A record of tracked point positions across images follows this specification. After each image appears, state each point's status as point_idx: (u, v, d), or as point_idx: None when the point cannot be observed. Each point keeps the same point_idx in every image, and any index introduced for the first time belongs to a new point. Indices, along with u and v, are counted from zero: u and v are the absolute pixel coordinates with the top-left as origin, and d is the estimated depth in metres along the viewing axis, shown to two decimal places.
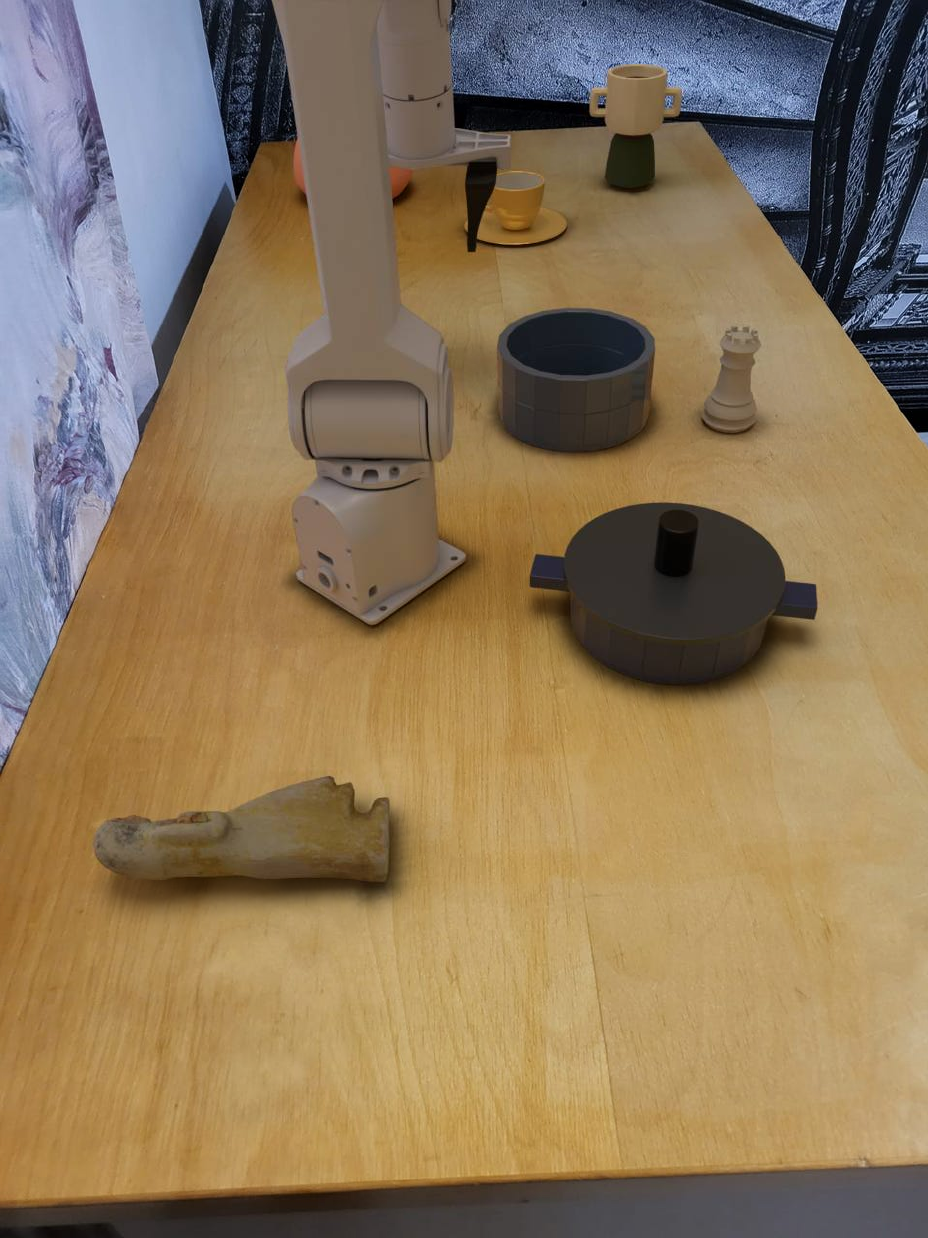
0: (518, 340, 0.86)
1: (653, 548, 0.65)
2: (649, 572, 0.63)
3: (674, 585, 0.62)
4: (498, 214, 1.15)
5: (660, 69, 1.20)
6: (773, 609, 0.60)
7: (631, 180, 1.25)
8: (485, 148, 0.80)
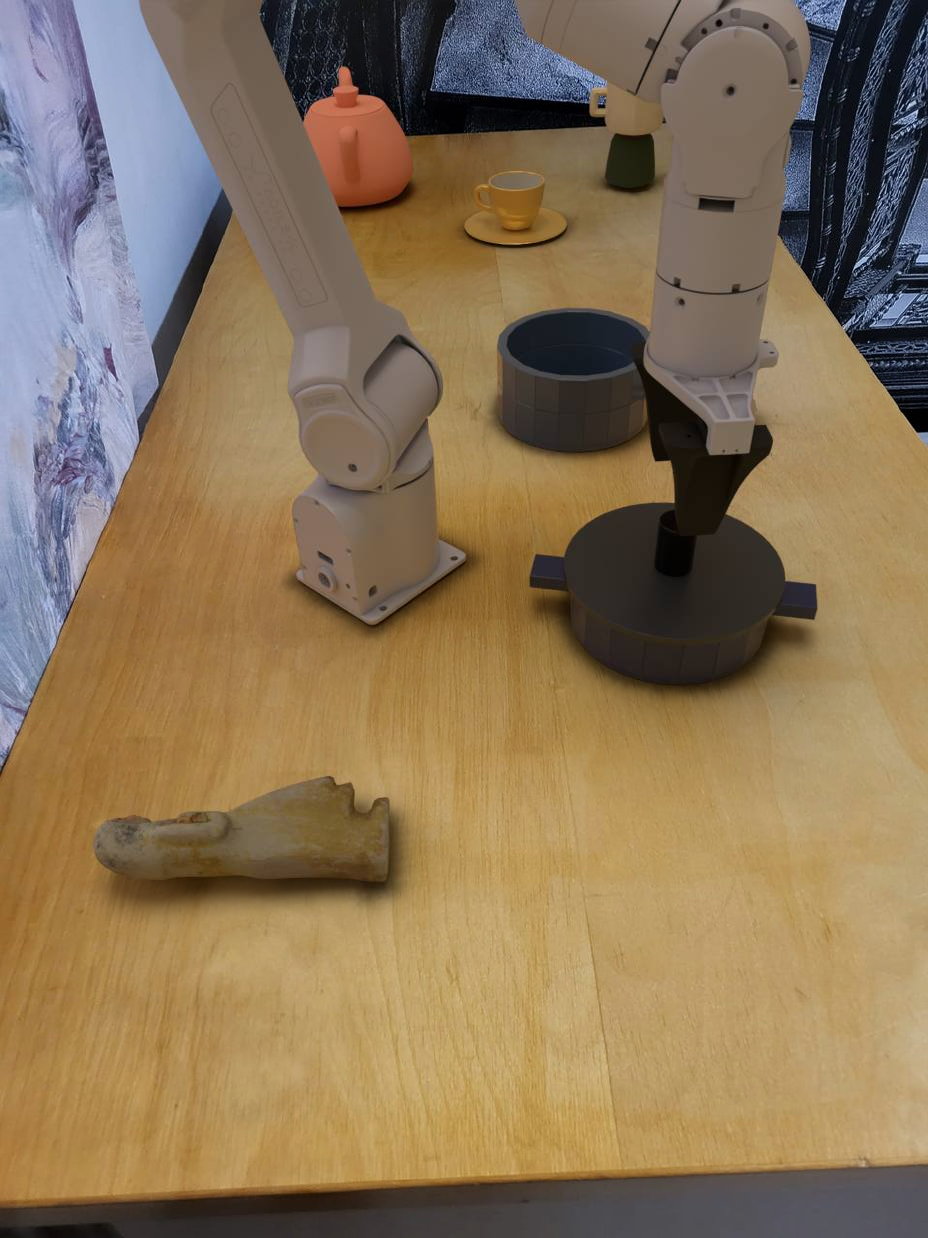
0: (518, 340, 0.86)
1: (653, 548, 0.65)
2: (649, 572, 0.63)
3: (674, 585, 0.62)
4: (498, 214, 1.15)
5: None
6: (773, 609, 0.60)
7: (631, 180, 1.25)
8: (700, 403, 0.50)
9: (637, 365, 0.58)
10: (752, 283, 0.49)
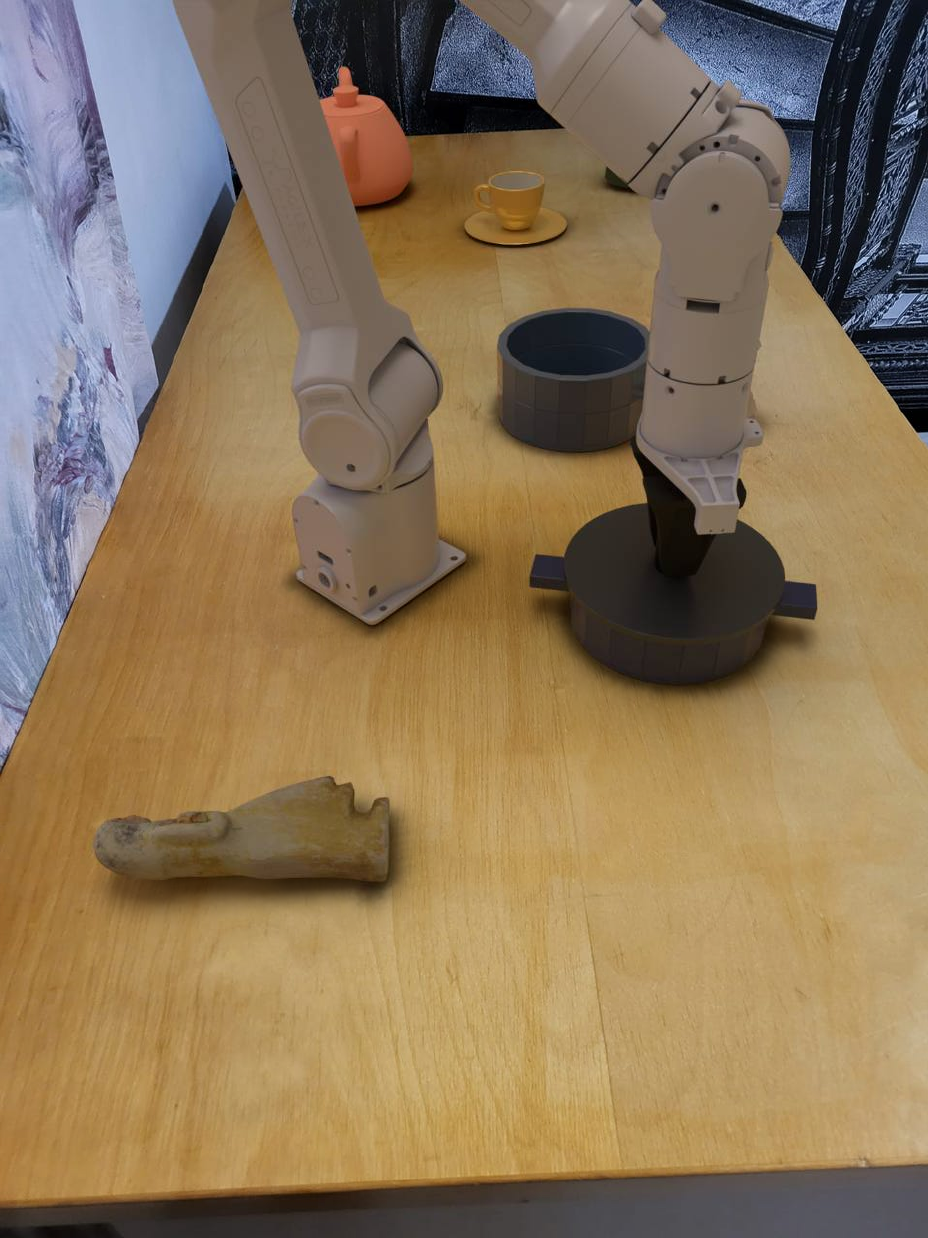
0: (518, 340, 0.86)
1: (653, 548, 0.65)
2: (649, 572, 0.63)
3: (674, 585, 0.62)
4: (498, 214, 1.15)
5: None
6: (773, 609, 0.60)
7: None
8: (689, 485, 0.53)
9: (637, 459, 0.60)
10: (737, 375, 0.52)
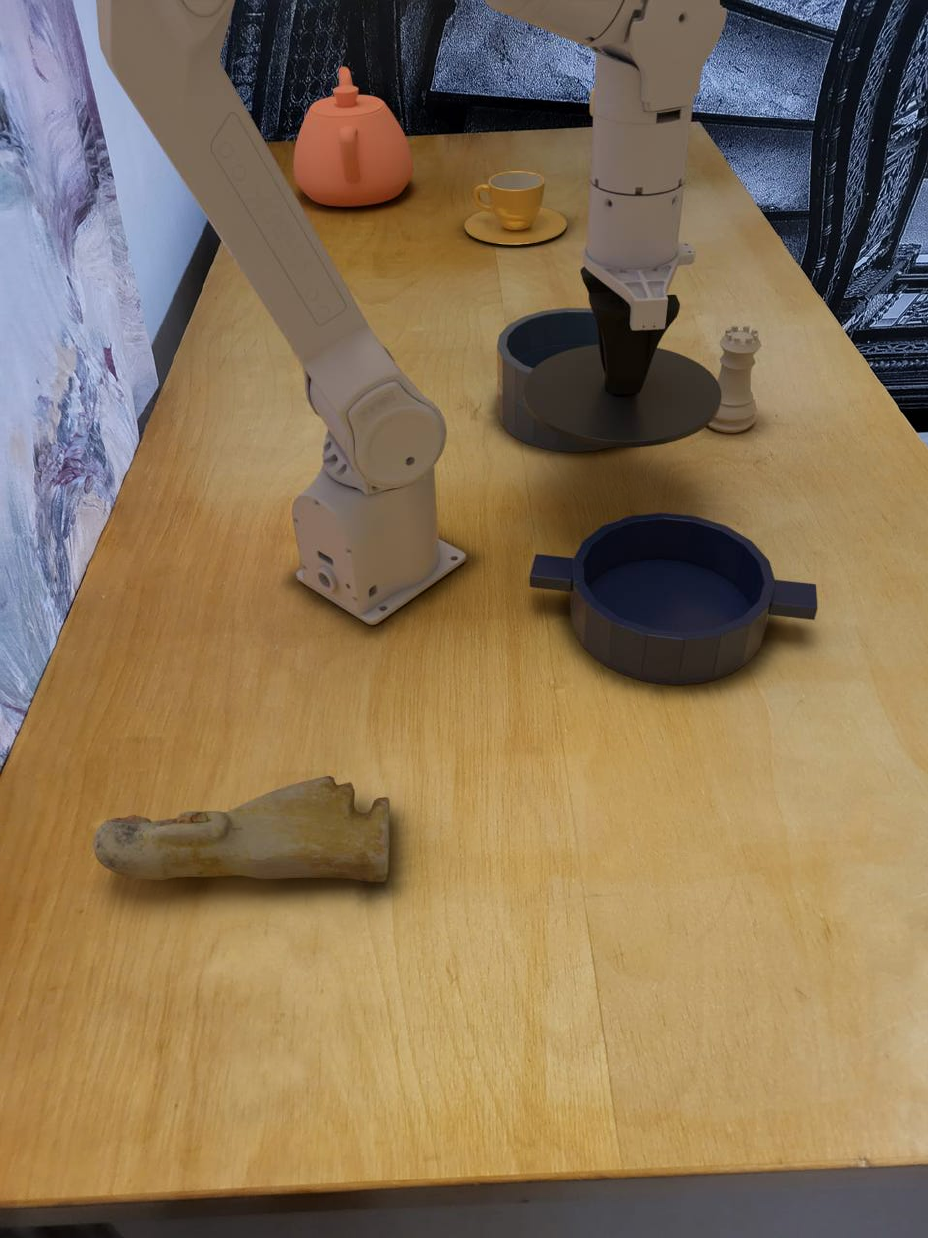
0: (518, 340, 0.86)
1: (605, 376, 0.72)
2: (600, 393, 0.70)
3: (621, 403, 0.69)
4: (498, 214, 1.15)
5: None
6: (708, 420, 0.67)
7: None
8: (625, 287, 0.60)
9: (586, 283, 0.67)
10: (684, 176, 0.60)
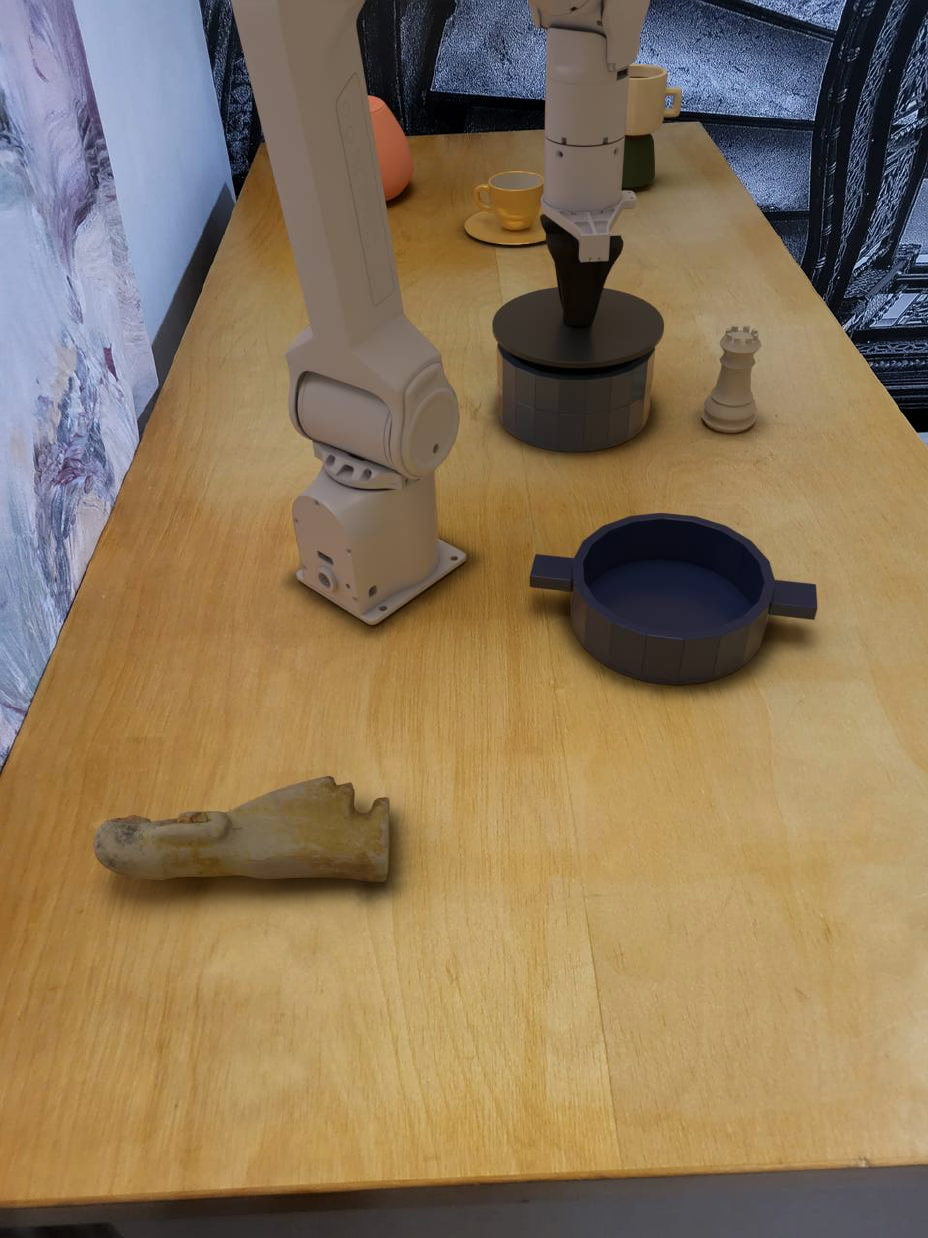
0: None
1: (563, 312, 0.82)
2: (558, 325, 0.81)
3: (577, 332, 0.80)
4: (498, 214, 1.15)
5: (660, 69, 1.20)
6: (651, 345, 0.78)
7: (631, 180, 1.25)
8: (574, 225, 0.71)
9: (544, 227, 0.77)
10: None
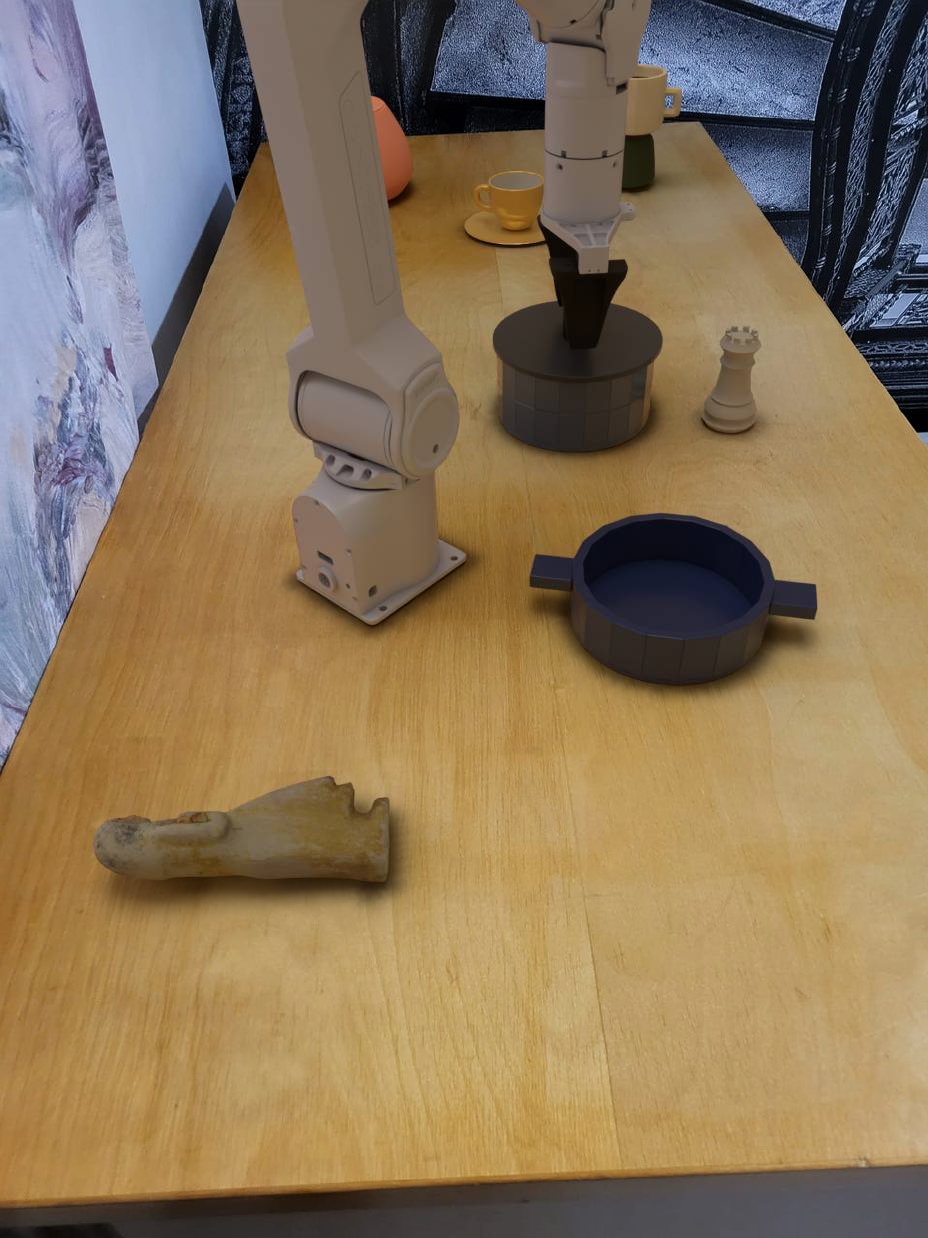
0: None
1: (563, 326, 0.83)
2: (558, 340, 0.81)
3: None
4: (498, 214, 1.15)
5: (660, 69, 1.20)
6: (650, 360, 0.79)
7: (631, 180, 1.25)
8: (573, 237, 0.71)
9: (541, 227, 0.80)
10: None
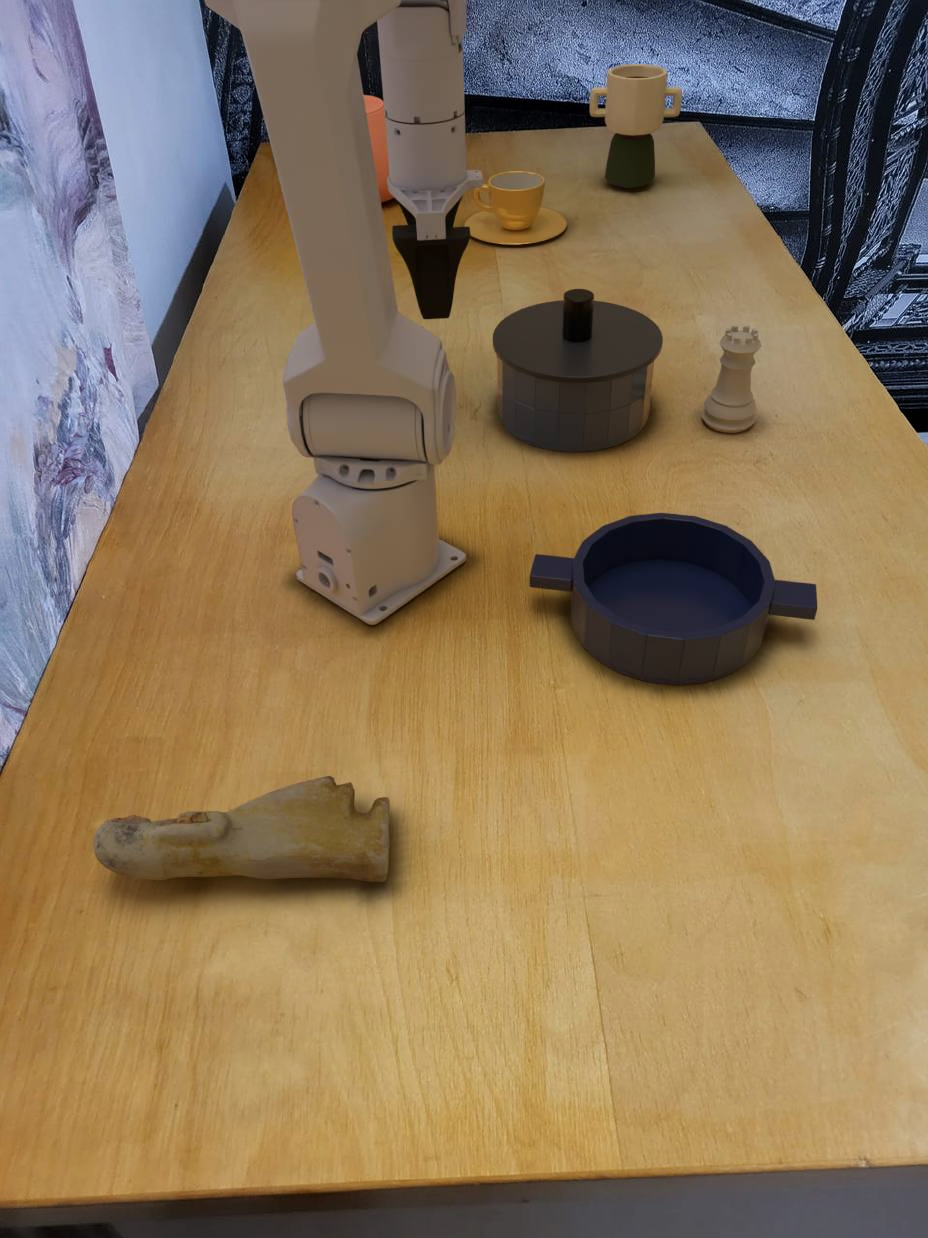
0: None
1: (563, 326, 0.83)
2: (558, 340, 0.81)
3: (576, 347, 0.80)
4: (498, 214, 1.15)
5: (660, 69, 1.20)
6: (650, 360, 0.79)
7: (631, 180, 1.25)
8: (411, 203, 0.70)
9: None
10: None
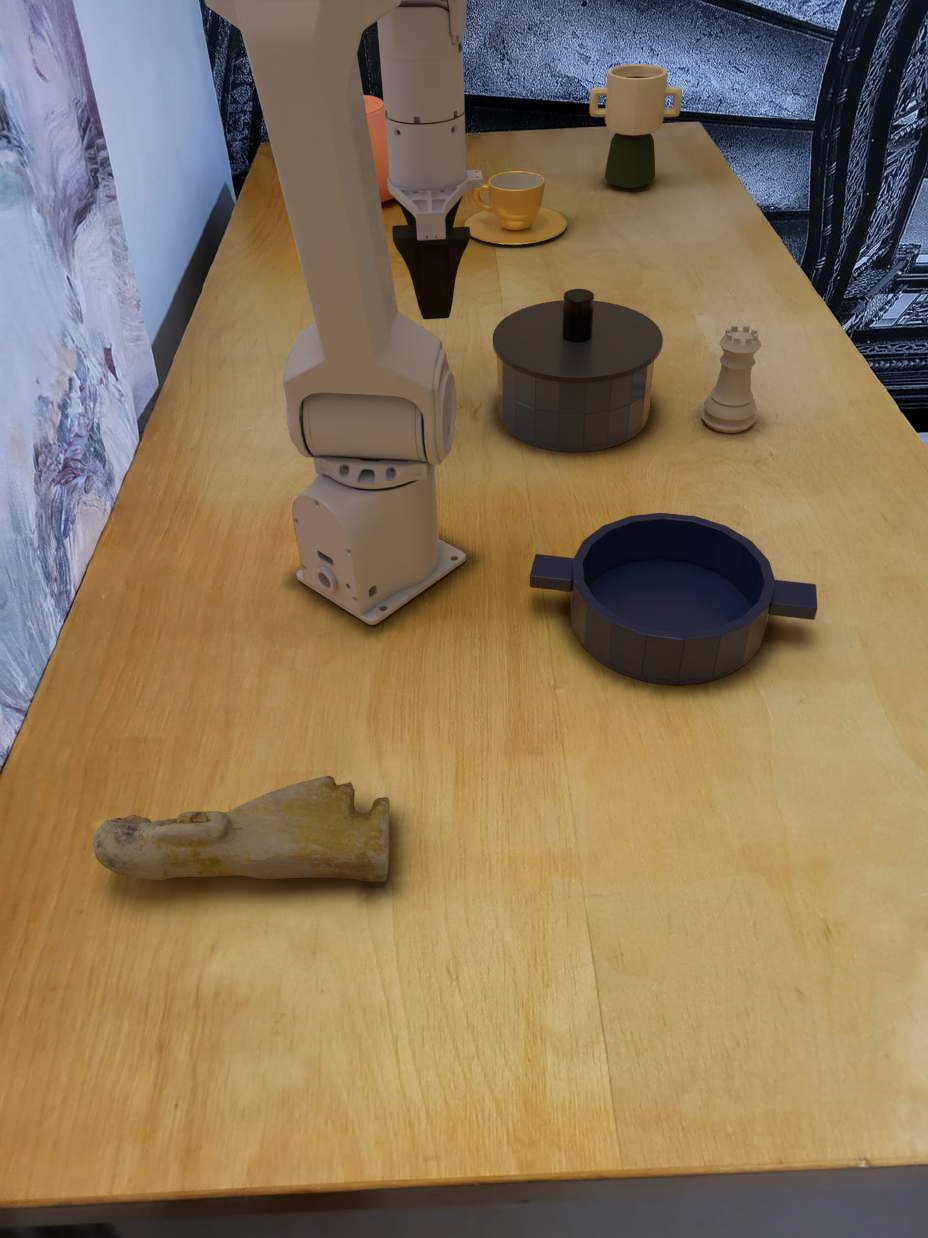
0: None
1: (563, 326, 0.83)
2: (558, 340, 0.81)
3: (576, 347, 0.80)
4: (498, 214, 1.15)
5: (660, 69, 1.20)
6: (650, 360, 0.79)
7: (631, 180, 1.25)
8: (411, 203, 0.70)
9: None
10: None
